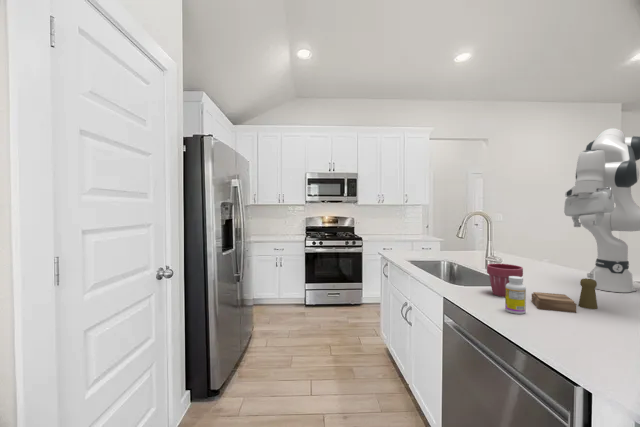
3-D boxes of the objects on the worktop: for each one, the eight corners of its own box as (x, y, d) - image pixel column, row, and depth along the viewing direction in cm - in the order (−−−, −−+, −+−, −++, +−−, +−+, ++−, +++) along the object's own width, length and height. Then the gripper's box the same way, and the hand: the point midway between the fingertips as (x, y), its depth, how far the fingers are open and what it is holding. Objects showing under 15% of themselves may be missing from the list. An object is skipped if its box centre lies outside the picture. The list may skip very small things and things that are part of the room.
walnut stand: (531, 301, 143) (531, 291, 143) (565, 304, 139) (566, 294, 139) (538, 309, 132) (538, 298, 132) (576, 312, 128) (576, 301, 128)
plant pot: (521, 300, 144) (522, 270, 144) (484, 295, 152) (485, 266, 151) (522, 293, 156) (523, 265, 156) (488, 289, 164) (488, 262, 163)
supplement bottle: (508, 308, 133) (509, 274, 133) (528, 311, 129) (528, 277, 128) (502, 311, 129) (503, 277, 128) (522, 315, 124) (523, 279, 124)
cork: (601, 309, 132) (601, 280, 132) (583, 308, 133) (583, 280, 133) (592, 305, 138) (592, 277, 138) (575, 304, 139) (575, 277, 139)
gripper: (621, 187, 122) (618, 225, 121) (577, 195, 143) (574, 228, 141) (603, 184, 122) (600, 223, 121) (562, 193, 143) (559, 226, 141)
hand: (586, 226), depth 131 cm, fingers open, 8 cm apart
